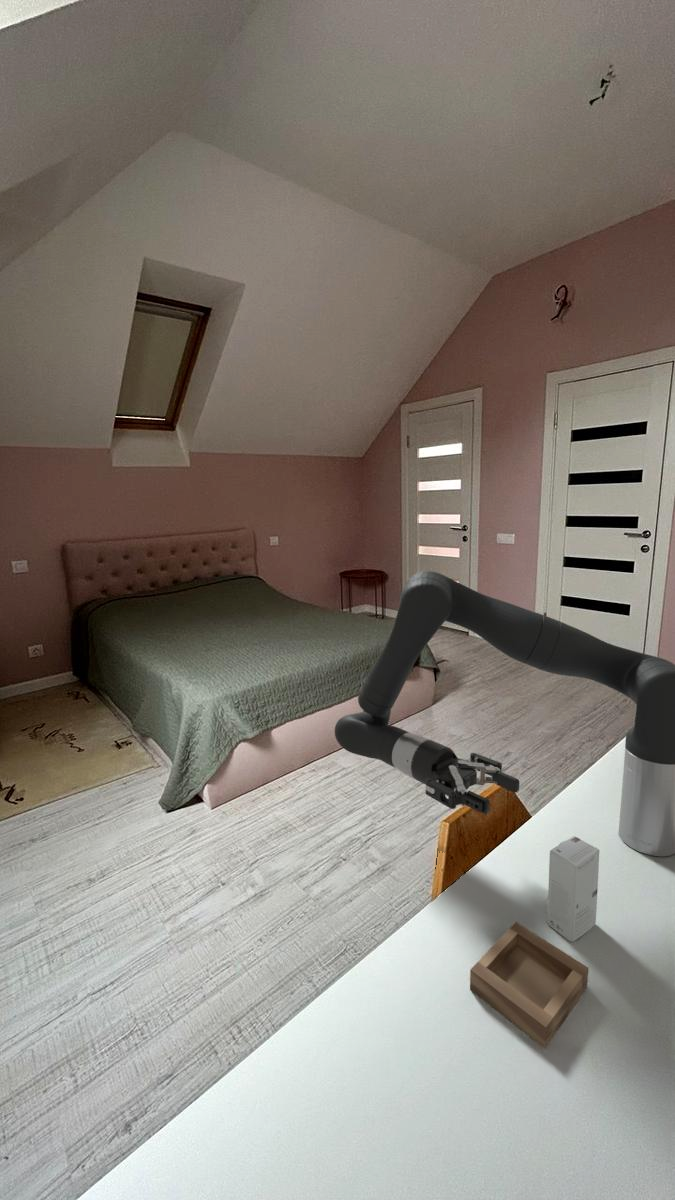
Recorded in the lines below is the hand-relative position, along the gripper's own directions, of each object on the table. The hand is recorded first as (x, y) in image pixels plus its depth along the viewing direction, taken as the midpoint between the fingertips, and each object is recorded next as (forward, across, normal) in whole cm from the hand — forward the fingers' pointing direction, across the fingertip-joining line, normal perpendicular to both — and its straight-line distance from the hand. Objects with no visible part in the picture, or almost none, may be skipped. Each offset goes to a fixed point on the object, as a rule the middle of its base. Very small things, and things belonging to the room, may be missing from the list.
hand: (504, 796), depth 81 cm
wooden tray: (+12, -14, +15) cm, 24 cm away
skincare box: (+12, 0, +16) cm, 19 cm away
